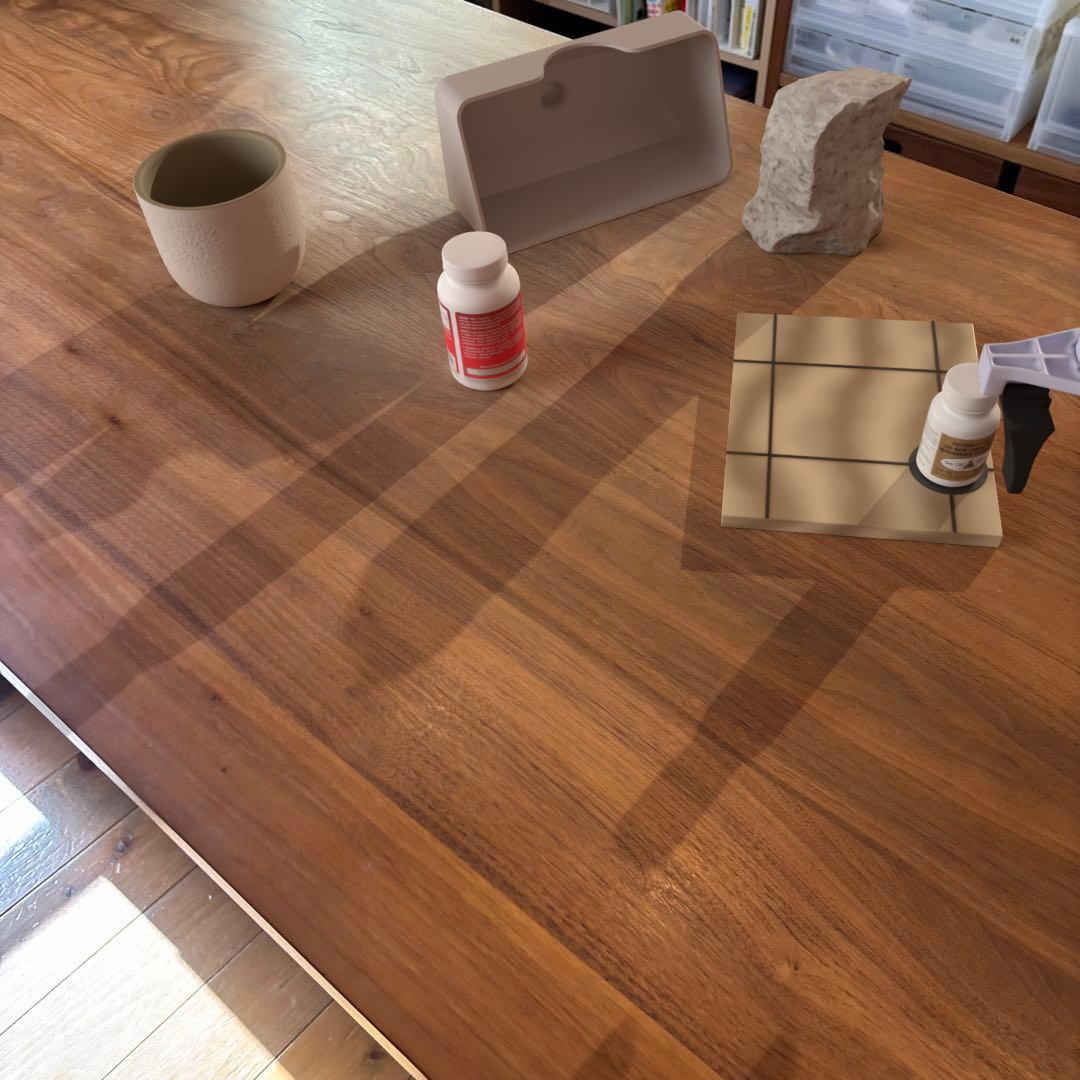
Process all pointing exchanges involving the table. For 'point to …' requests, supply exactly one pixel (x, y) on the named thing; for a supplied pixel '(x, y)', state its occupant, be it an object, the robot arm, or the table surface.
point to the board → (846, 431)
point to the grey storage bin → (585, 130)
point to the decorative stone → (824, 163)
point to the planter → (224, 215)
